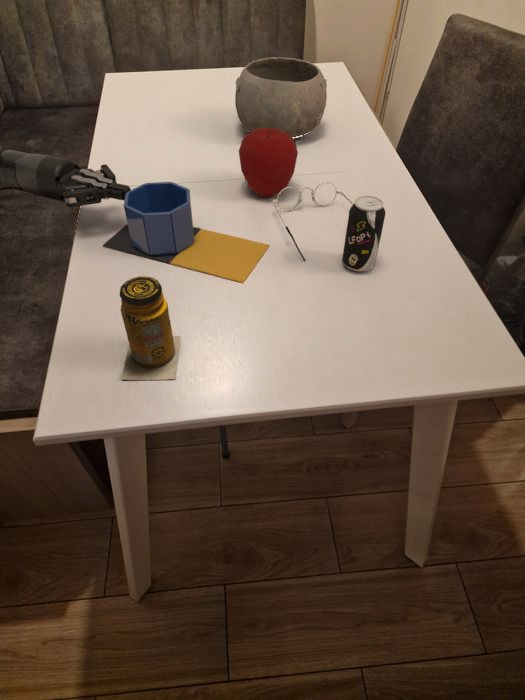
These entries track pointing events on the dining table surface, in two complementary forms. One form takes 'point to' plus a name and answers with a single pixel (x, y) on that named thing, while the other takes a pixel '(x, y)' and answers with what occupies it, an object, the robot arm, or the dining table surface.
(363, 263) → the beverage can
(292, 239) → the eyeglasses
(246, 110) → the bowl
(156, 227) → the glazed bowl
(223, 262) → the place mat
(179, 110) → the dining table surface
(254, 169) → the apple
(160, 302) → the condiment
